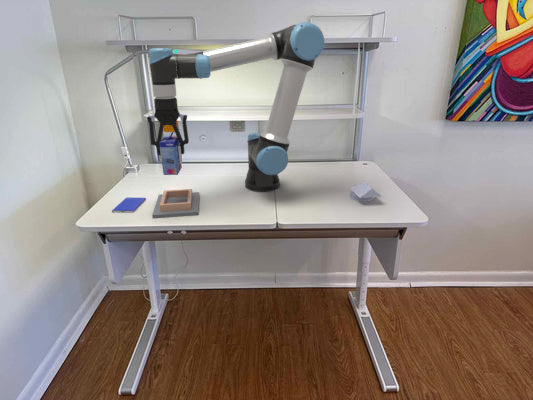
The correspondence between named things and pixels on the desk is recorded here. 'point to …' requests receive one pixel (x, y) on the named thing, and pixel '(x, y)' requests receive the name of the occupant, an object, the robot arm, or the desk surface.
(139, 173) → the desk surface
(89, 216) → the desk surface
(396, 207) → the desk surface
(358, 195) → the pale grey faceted rock
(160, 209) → the grey holder tray
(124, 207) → the hard drive
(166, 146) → the ink cartridge box
